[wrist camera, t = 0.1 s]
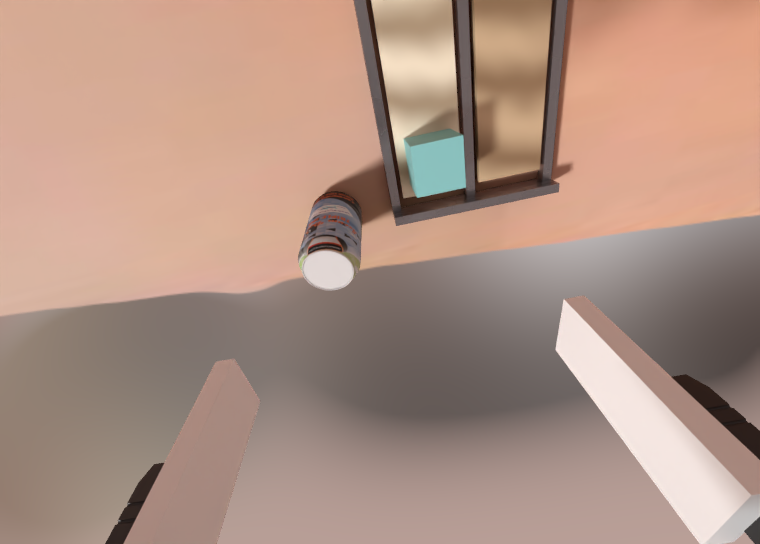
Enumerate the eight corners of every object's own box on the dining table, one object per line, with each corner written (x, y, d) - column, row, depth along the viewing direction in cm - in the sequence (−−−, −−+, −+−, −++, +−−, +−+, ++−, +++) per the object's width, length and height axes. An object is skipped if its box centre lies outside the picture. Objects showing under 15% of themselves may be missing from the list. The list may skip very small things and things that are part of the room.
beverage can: (362, 188, 37) (364, 229, 27) (361, 244, 41) (362, 298, 31) (309, 186, 37) (290, 227, 26) (312, 243, 40) (297, 297, 30)
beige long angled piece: (366, -24, 27) (370, -66, 19) (446, -44, 27) (481, -95, 19) (402, 195, 38) (414, 224, 30) (459, 183, 37) (486, 209, 30)
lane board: (345, -42, 27) (344, -55, 24) (568, -99, 26) (592, -119, 23) (393, 216, 39) (396, 225, 37) (545, 184, 38) (558, 191, 36)
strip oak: (469, -50, 27) (514, -103, 19) (551, -70, 26) (630, -133, 19) (476, 180, 37) (507, 205, 29) (535, 167, 37) (582, 189, 29)
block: (403, 138, 33) (410, 146, 29) (449, 128, 33) (463, 135, 29) (410, 184, 36) (417, 197, 32) (453, 175, 36) (466, 187, 31)
